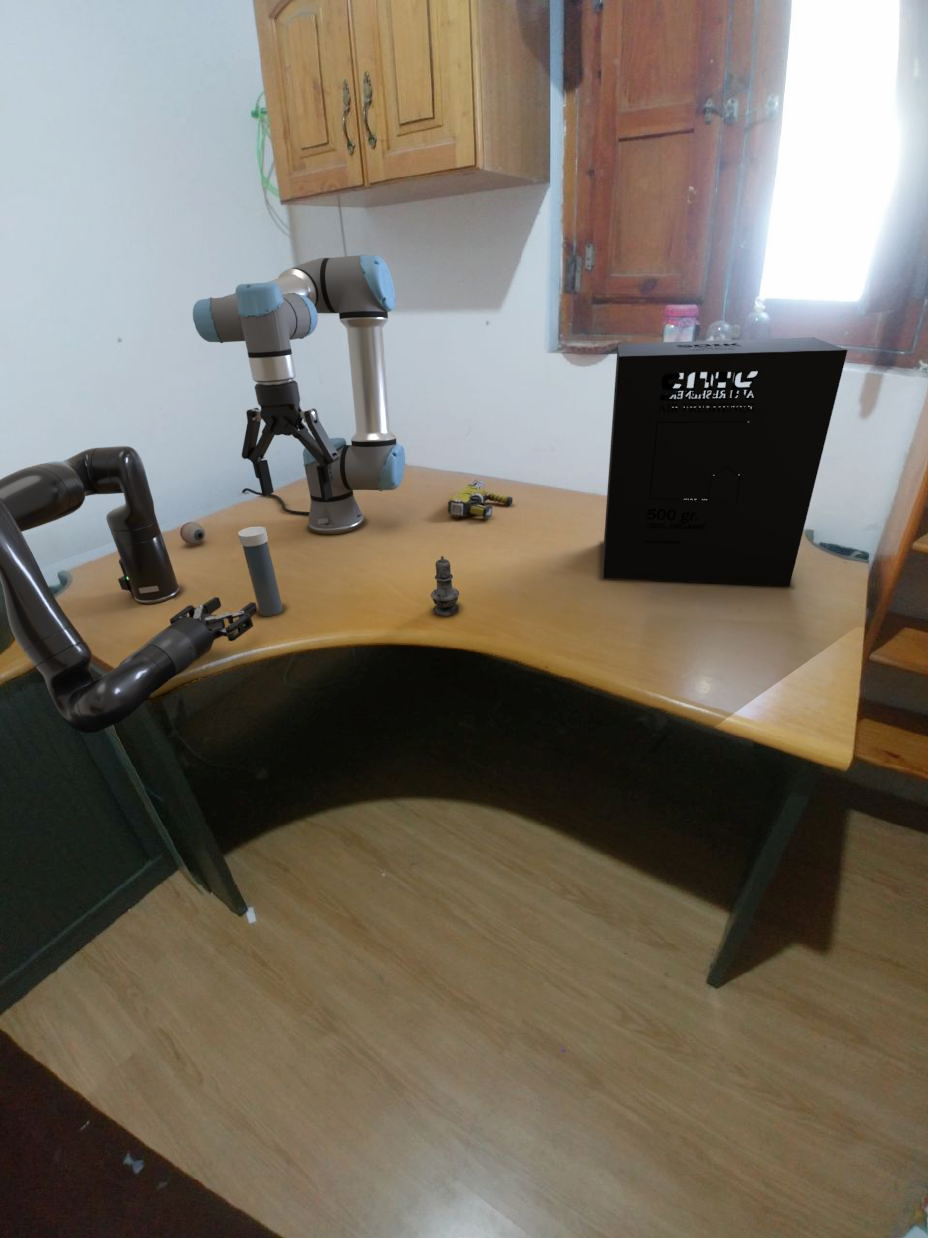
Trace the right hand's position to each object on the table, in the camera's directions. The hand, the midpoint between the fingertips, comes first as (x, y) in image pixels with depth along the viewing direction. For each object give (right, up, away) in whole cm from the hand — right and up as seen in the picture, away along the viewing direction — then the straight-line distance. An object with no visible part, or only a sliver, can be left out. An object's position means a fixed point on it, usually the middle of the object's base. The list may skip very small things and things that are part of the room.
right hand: (297, 496), depth 118 cm
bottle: (-8, -22, +9) cm, 25 cm away
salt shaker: (+29, -22, +6) cm, 37 cm away
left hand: (-11, -21, -1) cm, 24 cm away
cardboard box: (+84, -11, +19) cm, 87 cm away
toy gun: (+39, +9, +58) cm, 70 cm away
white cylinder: (-9, -7, 0) cm, 11 cm away
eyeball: (-40, -4, +44) cm, 59 cm away
